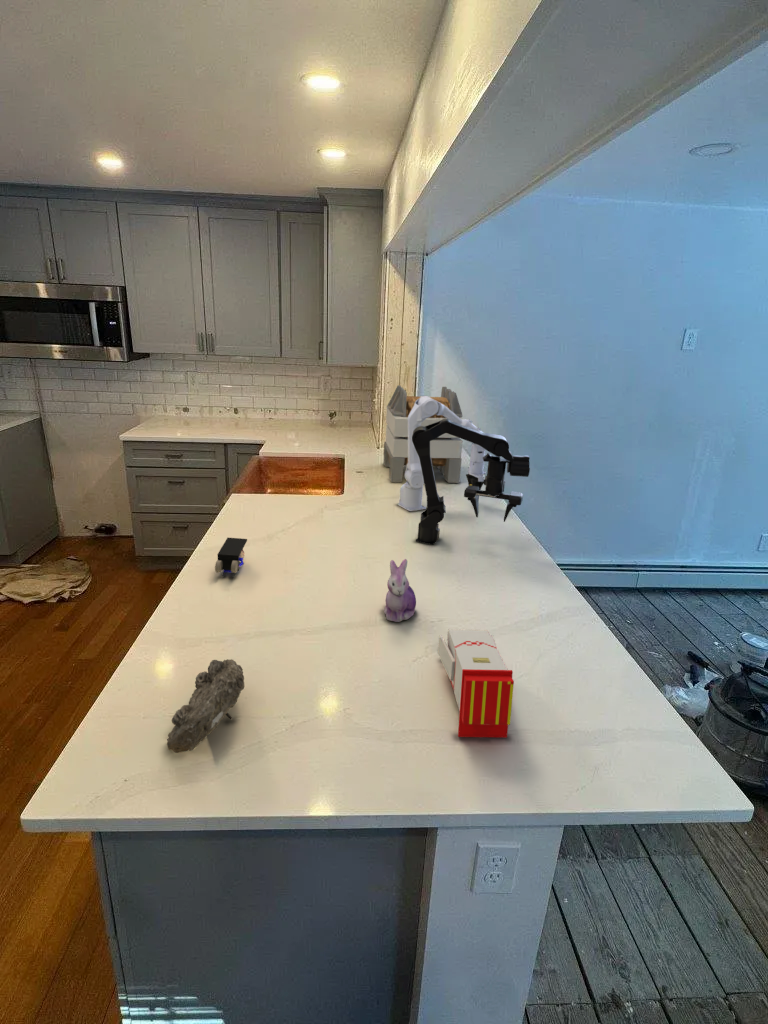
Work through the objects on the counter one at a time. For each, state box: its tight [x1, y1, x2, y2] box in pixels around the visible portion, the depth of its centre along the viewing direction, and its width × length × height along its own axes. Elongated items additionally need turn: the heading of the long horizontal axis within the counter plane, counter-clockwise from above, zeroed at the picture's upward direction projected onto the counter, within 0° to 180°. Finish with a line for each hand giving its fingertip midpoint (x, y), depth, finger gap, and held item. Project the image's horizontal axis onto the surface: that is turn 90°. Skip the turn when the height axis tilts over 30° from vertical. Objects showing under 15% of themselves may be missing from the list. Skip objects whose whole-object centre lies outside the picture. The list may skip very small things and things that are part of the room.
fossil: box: [166, 658, 245, 754], centre depth 106 cm, size 22×10×15 cm
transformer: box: [383, 384, 464, 484], centre depth 268 cm, size 34×33×41 cm
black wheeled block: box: [214, 537, 248, 578], centre depth 166 cm, size 7×8×15 cm
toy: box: [437, 628, 515, 738], centre depth 117 cm, size 12×13×30 cm
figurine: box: [384, 558, 417, 623], centre depth 145 cm, size 9×10×15 cm
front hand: (490, 519), depth 191 cm, fingers open, 9 cm apart
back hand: (473, 493), depth 230 cm, fingers closed on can, 4 cm apart
